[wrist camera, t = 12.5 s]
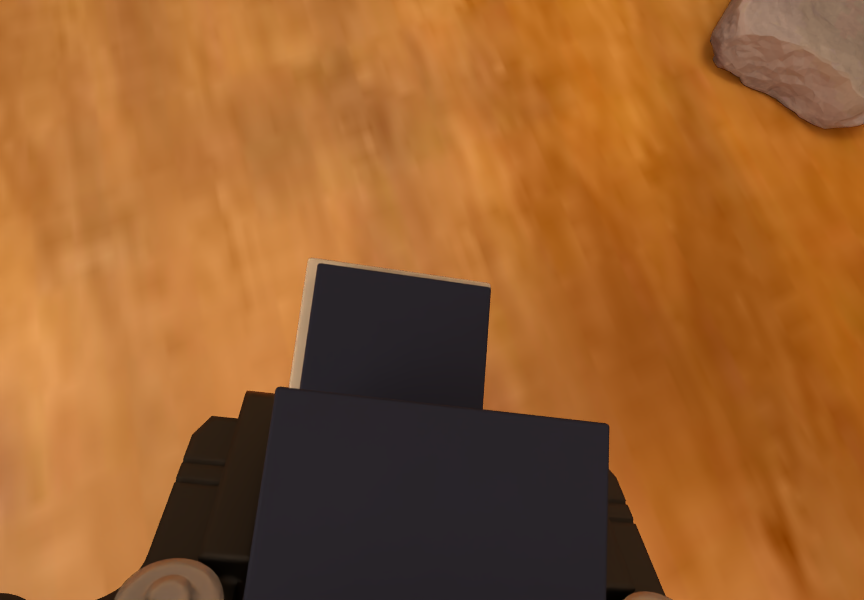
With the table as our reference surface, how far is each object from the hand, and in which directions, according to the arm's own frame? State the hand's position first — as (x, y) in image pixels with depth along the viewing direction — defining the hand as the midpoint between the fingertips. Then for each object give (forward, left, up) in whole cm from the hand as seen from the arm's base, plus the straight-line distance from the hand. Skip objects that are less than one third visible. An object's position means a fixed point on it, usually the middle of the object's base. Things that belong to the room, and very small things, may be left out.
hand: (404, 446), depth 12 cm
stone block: (+30, +8, -13) cm, 34 cm away
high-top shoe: (0, 0, -6) cm, 6 cm away
